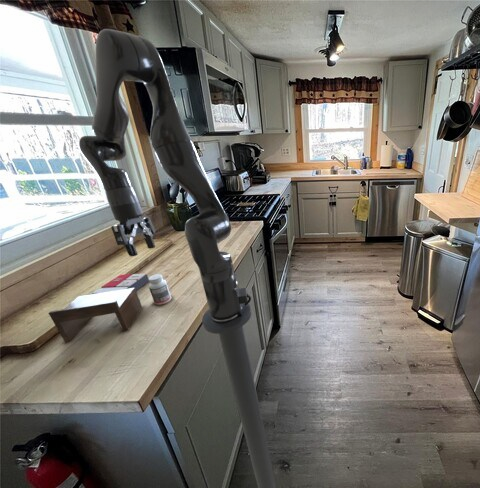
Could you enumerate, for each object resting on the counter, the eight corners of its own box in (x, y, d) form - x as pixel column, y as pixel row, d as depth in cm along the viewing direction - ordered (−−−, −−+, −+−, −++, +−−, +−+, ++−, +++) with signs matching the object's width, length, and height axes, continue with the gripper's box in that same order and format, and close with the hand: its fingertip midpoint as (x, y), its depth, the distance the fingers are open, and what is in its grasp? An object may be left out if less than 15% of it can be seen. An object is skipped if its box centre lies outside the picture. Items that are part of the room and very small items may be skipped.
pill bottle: (156, 298, 94) (148, 274, 90) (173, 295, 95) (165, 271, 91) (152, 306, 89) (143, 282, 85) (170, 303, 90) (162, 279, 87)
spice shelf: (142, 307, 89) (132, 281, 85) (127, 330, 78) (115, 301, 74) (87, 316, 85) (74, 289, 81) (64, 342, 74) (48, 313, 70)
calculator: (147, 272, 104) (120, 291, 90) (149, 281, 106) (124, 302, 92) (119, 273, 104) (88, 293, 90) (123, 283, 106) (93, 303, 92)
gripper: (117, 204, 74) (138, 256, 78) (150, 198, 88) (167, 244, 92) (93, 208, 74) (115, 260, 79) (130, 202, 88) (147, 247, 92)
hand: (143, 251), depth 85 cm, fingers open, 8 cm apart
